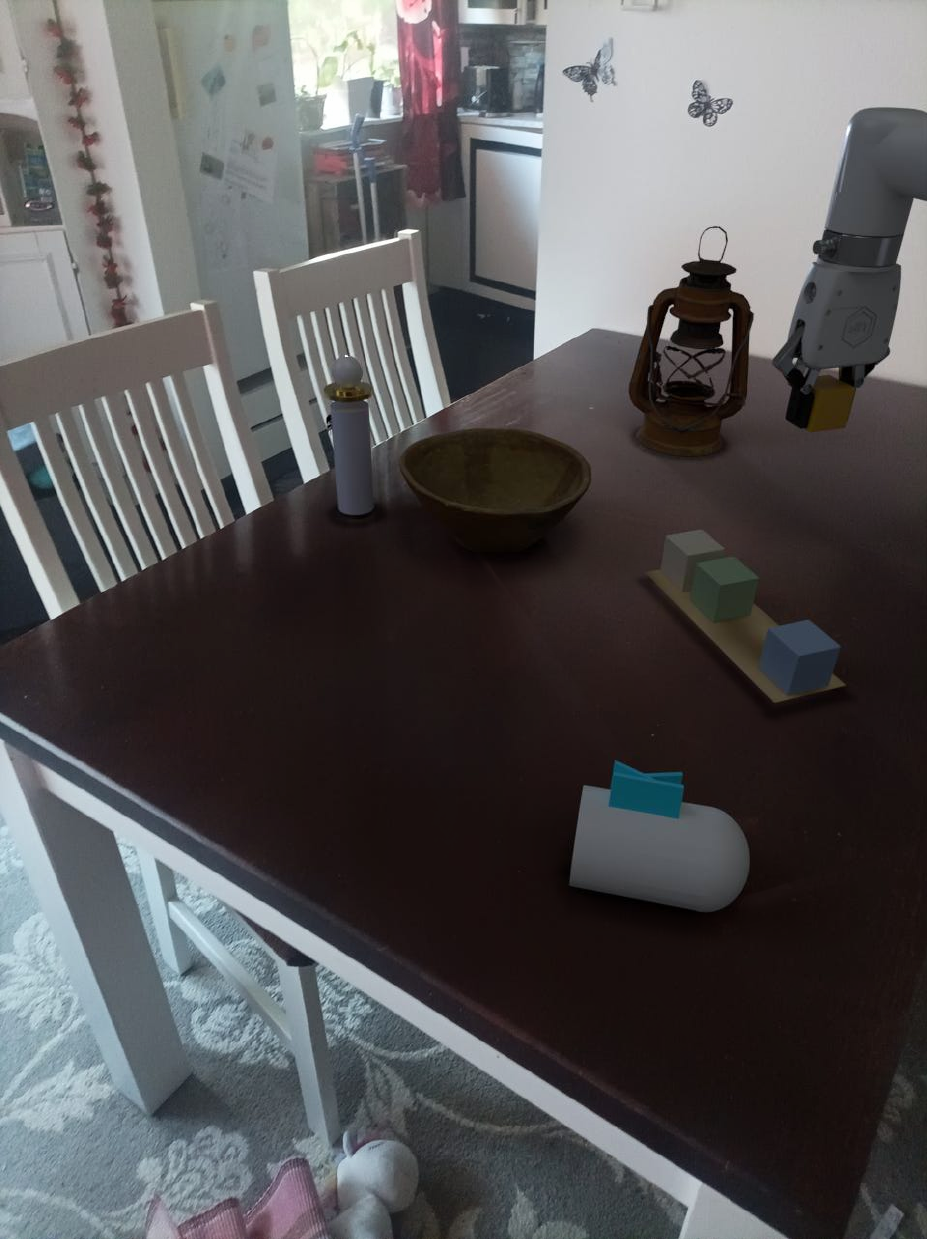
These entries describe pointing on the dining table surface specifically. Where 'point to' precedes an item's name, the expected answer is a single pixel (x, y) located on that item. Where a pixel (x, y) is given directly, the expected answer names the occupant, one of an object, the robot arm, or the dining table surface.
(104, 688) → the dining table surface
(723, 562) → the sage block
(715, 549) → the cream block
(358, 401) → the perfume bottle
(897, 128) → the robot arm
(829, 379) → the mustard block
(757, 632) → the board
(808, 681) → the blue block
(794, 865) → the dining table surface
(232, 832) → the dining table surface
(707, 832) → the grey rounded block
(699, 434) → the lantern
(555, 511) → the bowl
